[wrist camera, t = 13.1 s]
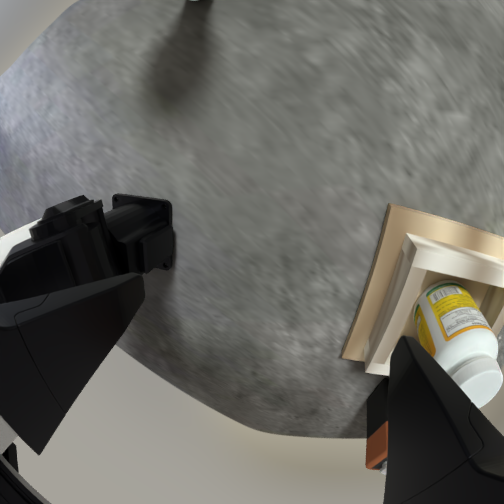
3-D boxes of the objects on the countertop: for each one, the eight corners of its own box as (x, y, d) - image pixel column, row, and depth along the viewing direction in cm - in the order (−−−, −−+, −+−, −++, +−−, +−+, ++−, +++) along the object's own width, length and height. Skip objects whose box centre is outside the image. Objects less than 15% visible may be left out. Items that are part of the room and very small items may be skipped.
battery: (384, 375, 24) (388, 460, 15) (433, 384, 23) (447, 460, 14) (365, 399, 26) (362, 478, 17) (413, 407, 25) (419, 479, 16)
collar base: (342, 350, 24) (340, 382, 20) (388, 203, 18) (401, 218, 15) (460, 366, 21) (469, 393, 18) (520, 243, 15) (543, 262, 12)
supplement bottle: (439, 266, 18) (489, 348, 9) (477, 295, 17) (524, 374, 9) (399, 317, 20) (419, 411, 12) (439, 340, 20) (464, 426, 11)
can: (66, 224, 28) (-14, 265, 17) (69, 269, 31) (2, 315, 20) (39, 210, 29) (-32, 243, 18) (42, 252, 31) (-20, 290, 21)
